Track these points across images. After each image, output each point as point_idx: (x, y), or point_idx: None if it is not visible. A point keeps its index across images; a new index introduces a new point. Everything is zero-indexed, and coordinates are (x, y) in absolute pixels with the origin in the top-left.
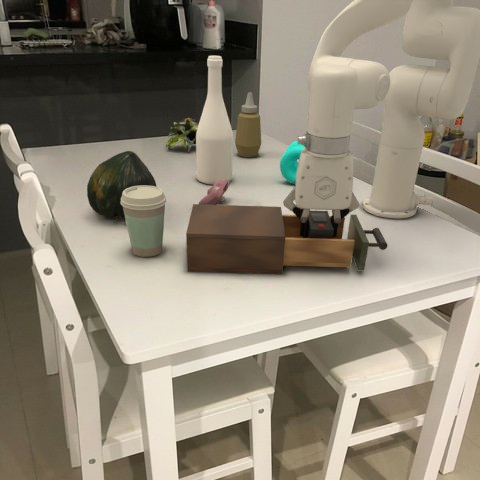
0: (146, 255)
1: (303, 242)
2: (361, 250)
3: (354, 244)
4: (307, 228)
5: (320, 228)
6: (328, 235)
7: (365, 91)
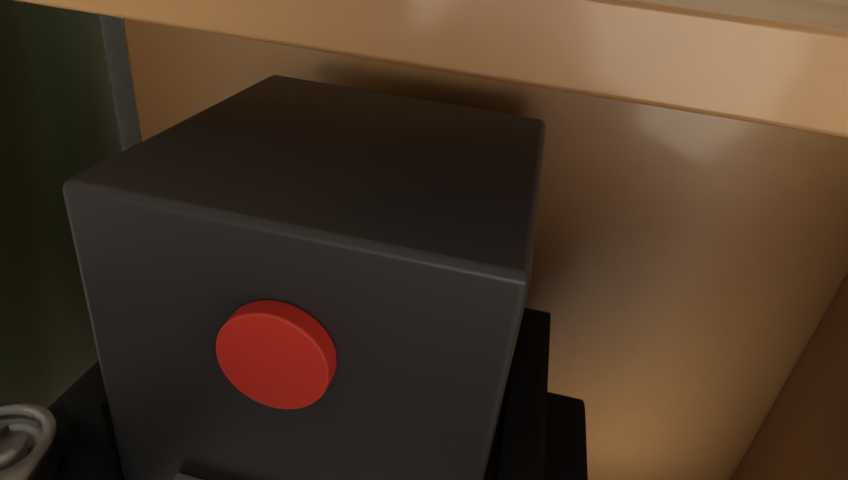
0: None
1: (749, 11)
2: None
3: (35, 202)
4: (508, 435)
5: (312, 275)
6: (214, 152)
7: None
